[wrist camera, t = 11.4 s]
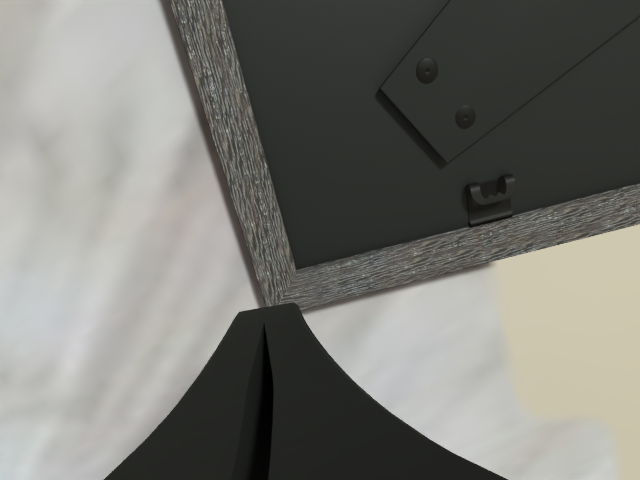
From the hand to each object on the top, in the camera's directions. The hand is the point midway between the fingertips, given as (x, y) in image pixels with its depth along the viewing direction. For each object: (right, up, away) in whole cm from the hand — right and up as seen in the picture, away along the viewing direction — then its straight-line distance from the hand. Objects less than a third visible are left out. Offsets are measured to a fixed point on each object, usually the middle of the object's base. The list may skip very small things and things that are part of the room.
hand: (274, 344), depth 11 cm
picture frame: (+7, +9, +9) cm, 14 cm away
